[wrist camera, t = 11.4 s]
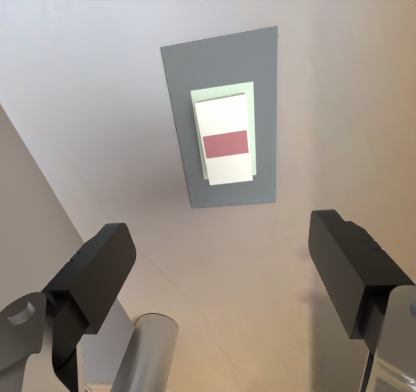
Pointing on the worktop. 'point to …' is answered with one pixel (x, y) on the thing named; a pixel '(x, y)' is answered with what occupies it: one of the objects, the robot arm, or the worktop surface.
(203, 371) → the worktop surface
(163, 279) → the worktop surface
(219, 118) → the card deck
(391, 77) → the worktop surface
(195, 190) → the mat
